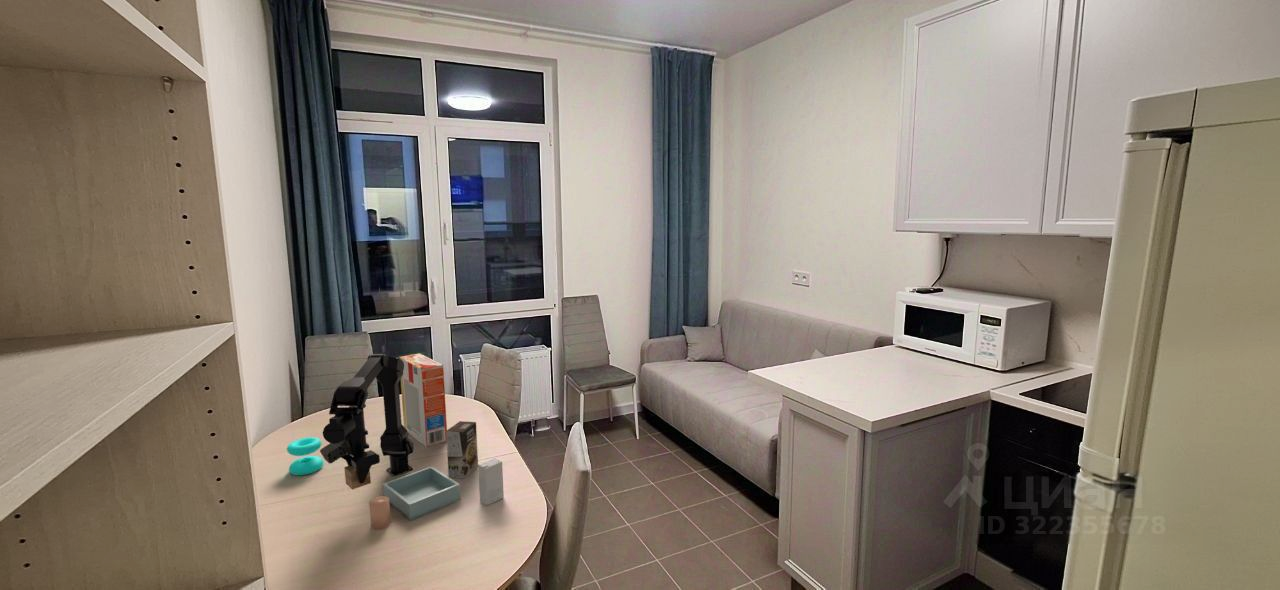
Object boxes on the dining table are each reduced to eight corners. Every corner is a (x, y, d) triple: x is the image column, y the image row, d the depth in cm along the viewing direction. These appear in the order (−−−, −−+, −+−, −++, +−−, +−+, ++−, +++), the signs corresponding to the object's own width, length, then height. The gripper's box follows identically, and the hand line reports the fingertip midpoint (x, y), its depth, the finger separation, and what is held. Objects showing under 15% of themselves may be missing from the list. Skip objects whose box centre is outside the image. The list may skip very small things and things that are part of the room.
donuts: (282, 442, 183) (315, 433, 190) (285, 470, 185) (318, 460, 192) (291, 451, 176) (325, 441, 184) (294, 479, 178) (327, 469, 185)
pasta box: (447, 440, 208) (443, 364, 204) (426, 447, 203) (421, 369, 198) (424, 423, 225) (419, 353, 220) (404, 429, 219) (399, 357, 215)
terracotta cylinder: (368, 524, 153) (366, 501, 151) (386, 516, 156) (384, 494, 155) (375, 531, 149) (373, 507, 148) (393, 523, 153) (391, 500, 152)
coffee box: (465, 478, 178) (463, 432, 176) (447, 477, 180) (445, 430, 177) (479, 466, 187) (476, 421, 185) (462, 464, 189) (459, 420, 186)
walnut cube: (364, 477, 160) (362, 461, 159) (370, 483, 156) (369, 466, 155) (345, 483, 156) (344, 467, 155) (352, 489, 153) (350, 473, 152)
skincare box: (495, 493, 169) (494, 456, 167) (504, 498, 166) (503, 461, 164) (478, 501, 164) (476, 463, 163) (487, 506, 162) (485, 468, 160)
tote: (383, 499, 166) (382, 484, 165) (432, 480, 177) (431, 466, 176) (410, 521, 154) (409, 504, 153) (460, 499, 166) (459, 484, 165)
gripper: (310, 427, 154) (316, 479, 156) (334, 447, 141) (339, 502, 144) (352, 416, 162) (357, 465, 164) (378, 434, 149) (382, 487, 152)
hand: (358, 479), depth 156 cm, fingers closed on walnut cube, 5 cm apart
